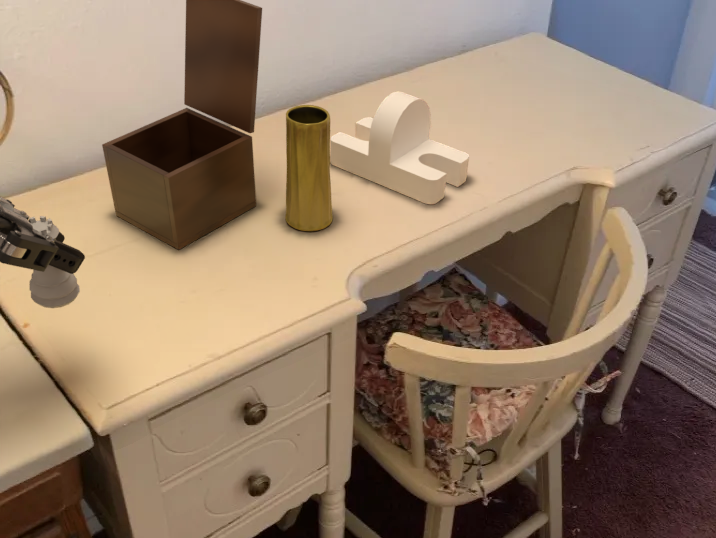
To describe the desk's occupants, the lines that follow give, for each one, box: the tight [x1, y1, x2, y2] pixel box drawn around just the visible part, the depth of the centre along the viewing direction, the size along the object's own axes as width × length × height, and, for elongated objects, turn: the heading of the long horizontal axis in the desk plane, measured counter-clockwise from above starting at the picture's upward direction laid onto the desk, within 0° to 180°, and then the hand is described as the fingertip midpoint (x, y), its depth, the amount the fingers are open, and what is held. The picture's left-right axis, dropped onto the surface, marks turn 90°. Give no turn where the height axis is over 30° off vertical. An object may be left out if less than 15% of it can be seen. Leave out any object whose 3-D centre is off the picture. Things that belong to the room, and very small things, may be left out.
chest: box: [101, 107, 257, 250], centre depth 105 cm, size 14×12×10 cm
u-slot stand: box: [330, 90, 470, 205], centre depth 114 cm, size 10×18×11 cm, turn 54°
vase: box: [284, 104, 334, 232], centre depth 103 cm, size 6×6×14 cm
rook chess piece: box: [28, 215, 81, 309], centre depth 76 cm, size 4×4×8 cm
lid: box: [183, 0, 263, 134], centre depth 101 cm, size 14×12×1 cm
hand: (67, 253), depth 78 cm, fingers closed on rook chess piece, 3 cm apart
